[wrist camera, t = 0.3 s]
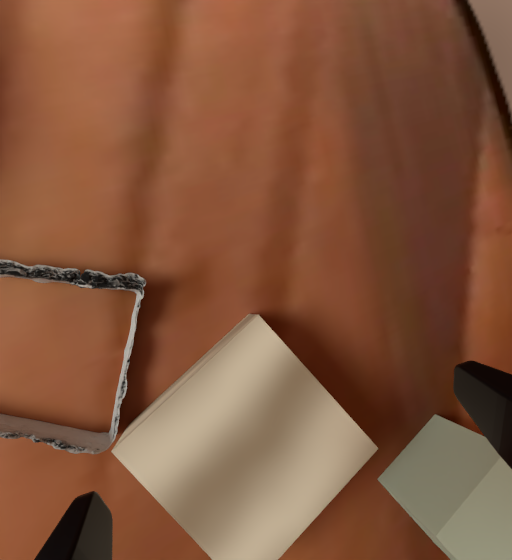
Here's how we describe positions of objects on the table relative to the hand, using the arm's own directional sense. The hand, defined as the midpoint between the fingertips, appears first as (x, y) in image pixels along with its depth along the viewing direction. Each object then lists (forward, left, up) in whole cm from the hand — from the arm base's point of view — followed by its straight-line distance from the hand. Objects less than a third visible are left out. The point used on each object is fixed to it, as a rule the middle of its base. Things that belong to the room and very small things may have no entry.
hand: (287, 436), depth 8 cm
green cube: (-16, -5, -14) cm, 22 cm away
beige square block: (-4, +2, -14) cm, 15 cm away
